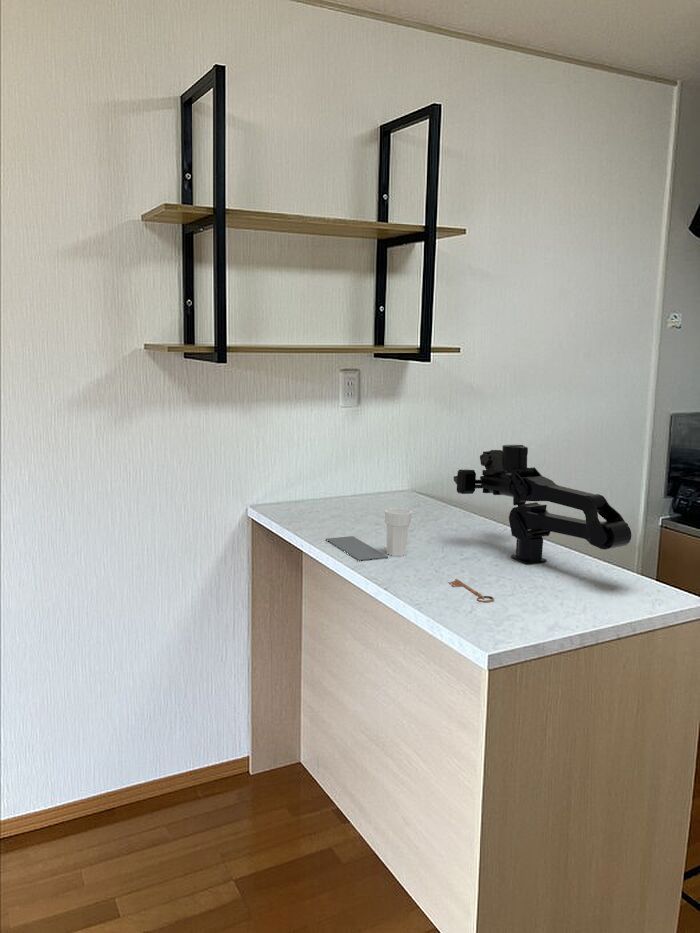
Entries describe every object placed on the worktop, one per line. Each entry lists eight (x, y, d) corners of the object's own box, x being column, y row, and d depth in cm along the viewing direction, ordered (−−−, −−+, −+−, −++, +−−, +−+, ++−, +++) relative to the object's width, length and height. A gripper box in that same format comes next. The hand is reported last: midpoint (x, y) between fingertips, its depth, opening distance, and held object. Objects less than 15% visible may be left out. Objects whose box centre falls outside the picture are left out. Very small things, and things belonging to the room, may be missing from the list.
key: (441, 585, 188) (472, 606, 174) (440, 581, 188) (472, 602, 174) (463, 581, 190) (496, 602, 176) (463, 577, 190) (496, 598, 176)
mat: (387, 558, 205) (388, 556, 205) (358, 561, 201) (358, 559, 201) (352, 537, 222) (352, 536, 222) (325, 540, 219) (325, 538, 219)
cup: (413, 552, 211) (415, 510, 209) (403, 558, 205) (405, 515, 203) (389, 548, 213) (391, 506, 211) (379, 554, 207) (381, 511, 205)
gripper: (534, 453, 216) (495, 449, 230) (479, 452, 207) (441, 448, 220) (532, 495, 217) (493, 488, 231) (476, 496, 208) (439, 489, 221)
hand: (467, 478), depth 226 cm, fingers open, 9 cm apart
